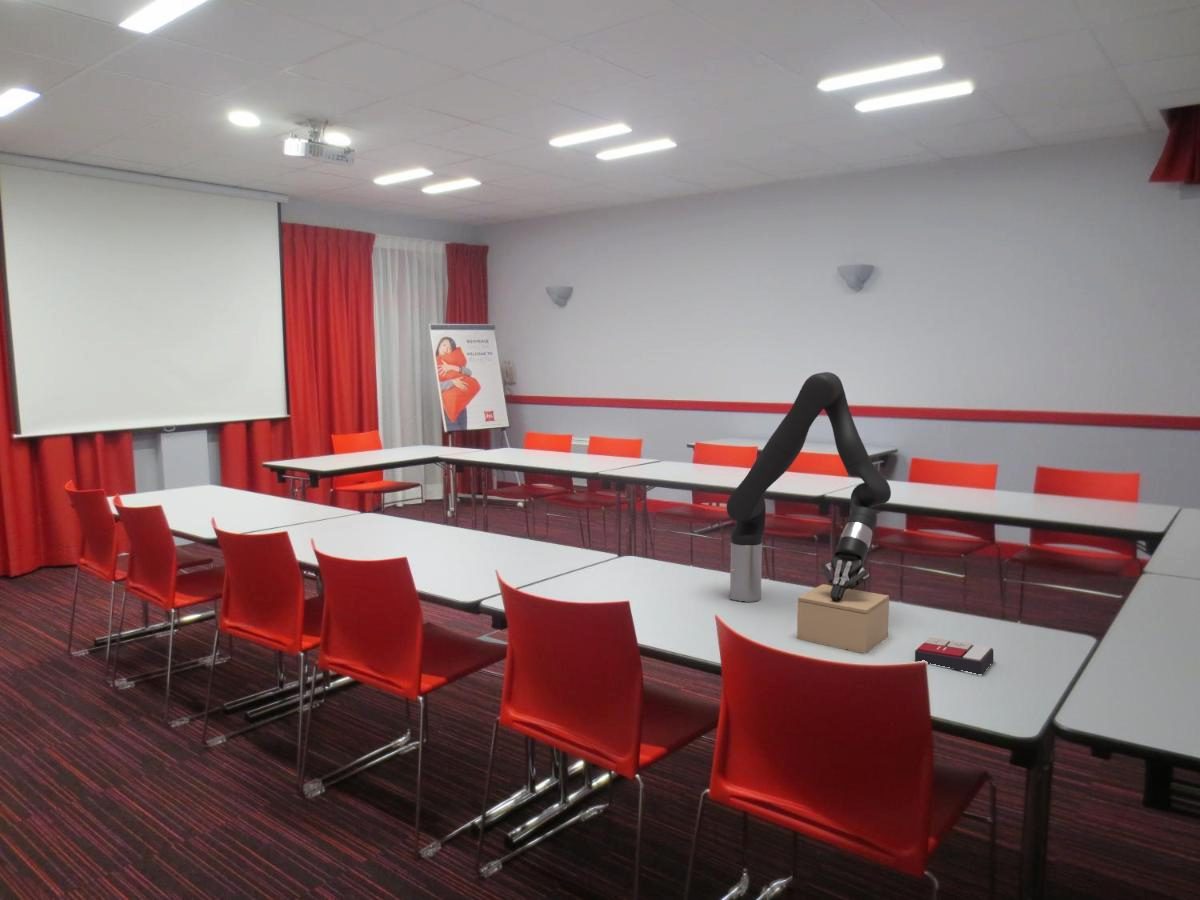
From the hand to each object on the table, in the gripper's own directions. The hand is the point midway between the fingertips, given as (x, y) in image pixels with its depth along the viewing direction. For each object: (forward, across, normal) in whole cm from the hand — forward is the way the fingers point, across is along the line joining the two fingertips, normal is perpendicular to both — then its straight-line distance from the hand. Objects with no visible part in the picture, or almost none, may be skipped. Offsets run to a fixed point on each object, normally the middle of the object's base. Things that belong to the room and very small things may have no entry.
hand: (834, 600), depth 203 cm
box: (+4, 0, +12) cm, 13 cm away
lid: (-3, 0, +5) cm, 6 cm away
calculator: (+4, +27, +13) cm, 31 cm away
